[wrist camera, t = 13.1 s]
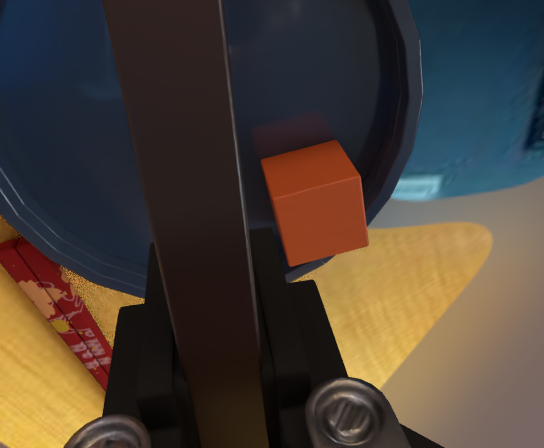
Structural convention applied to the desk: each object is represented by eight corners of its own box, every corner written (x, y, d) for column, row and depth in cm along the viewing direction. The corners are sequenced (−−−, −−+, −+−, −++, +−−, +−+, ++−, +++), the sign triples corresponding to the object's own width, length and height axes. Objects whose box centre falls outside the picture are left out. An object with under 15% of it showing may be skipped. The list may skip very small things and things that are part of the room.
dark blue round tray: (439, -139, 16) (471, -144, 15) (372, 259, 26) (386, 286, 24) (-113, -159, 14) (-156, -168, 12) (36, 287, 24) (24, 319, 22)
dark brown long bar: (22, -480, 4) (-38, -645, 3) (164, -479, 4) (153, -636, 3) (248, 648, 13) (253, 706, 12) (291, 639, 13) (299, 695, 12)
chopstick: (186, 488, 35) (186, 502, 35) (-2, 241, 22) (-9, 254, 21) (211, 481, 35) (212, 494, 35) (39, 229, 22) (34, 241, 21)
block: (259, 158, 21) (336, 138, 21) (275, 222, 23) (346, 203, 23) (272, 199, 18) (361, 175, 18) (289, 268, 20) (369, 246, 20)
